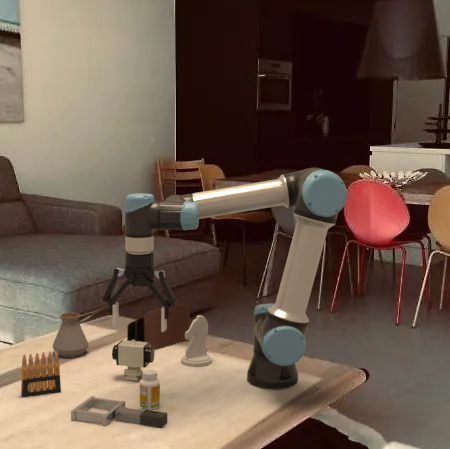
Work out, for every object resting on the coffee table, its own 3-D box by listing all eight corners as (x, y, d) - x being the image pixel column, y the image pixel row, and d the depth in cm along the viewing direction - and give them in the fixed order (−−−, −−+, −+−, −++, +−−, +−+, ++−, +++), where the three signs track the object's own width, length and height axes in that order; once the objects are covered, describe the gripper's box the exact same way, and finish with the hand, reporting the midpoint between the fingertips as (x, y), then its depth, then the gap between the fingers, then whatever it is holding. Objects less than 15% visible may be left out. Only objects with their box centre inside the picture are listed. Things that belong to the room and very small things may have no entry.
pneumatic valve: (150, 383, 219) (150, 343, 218) (111, 380, 222) (111, 340, 220) (155, 377, 225) (155, 338, 223) (118, 373, 227) (118, 335, 225)
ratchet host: (172, 417, 196) (172, 407, 195) (156, 433, 185) (156, 423, 185) (91, 405, 203) (91, 395, 202) (71, 420, 192) (71, 410, 192)
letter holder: (189, 340, 262) (190, 301, 260) (145, 353, 248) (145, 311, 246) (171, 334, 269) (171, 296, 267) (126, 346, 255) (126, 305, 253)
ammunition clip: (22, 397, 207) (21, 355, 205) (21, 395, 209) (20, 353, 207) (61, 392, 212) (60, 351, 210) (59, 390, 213) (59, 349, 211)
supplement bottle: (160, 402, 205) (160, 368, 204) (159, 410, 200) (159, 375, 198) (140, 402, 205) (140, 368, 204) (138, 410, 200) (138, 375, 198)
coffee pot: (60, 361, 237) (60, 315, 235) (47, 351, 247) (46, 307, 245) (122, 350, 249) (121, 306, 247) (107, 341, 259) (106, 299, 257)
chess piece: (175, 360, 241) (175, 314, 239) (201, 355, 246) (202, 310, 244) (190, 369, 233) (191, 321, 230) (217, 363, 238) (218, 317, 236)
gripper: (188, 251, 202) (187, 328, 205) (99, 247, 207) (100, 322, 210) (181, 256, 195) (181, 335, 198) (90, 251, 200) (90, 329, 203)
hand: (139, 328), depth 204 cm, fingers open, 13 cm apart
